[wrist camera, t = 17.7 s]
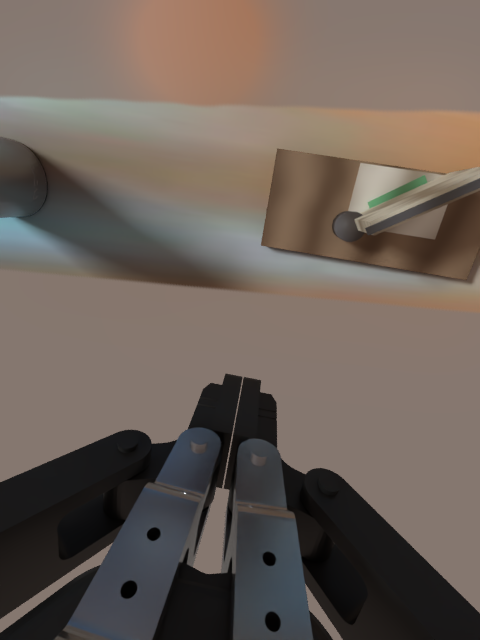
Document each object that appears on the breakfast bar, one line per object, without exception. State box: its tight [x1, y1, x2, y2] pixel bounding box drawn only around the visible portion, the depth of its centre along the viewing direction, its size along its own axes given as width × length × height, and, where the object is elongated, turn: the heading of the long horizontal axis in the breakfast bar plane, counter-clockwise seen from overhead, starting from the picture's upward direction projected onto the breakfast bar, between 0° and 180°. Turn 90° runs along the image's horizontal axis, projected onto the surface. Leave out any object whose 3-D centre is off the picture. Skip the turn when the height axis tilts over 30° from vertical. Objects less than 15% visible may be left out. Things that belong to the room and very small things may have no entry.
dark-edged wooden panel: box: [332, 167, 480, 242], centre depth 29 cm, size 12×3×10 cm, turn 115°
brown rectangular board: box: [261, 149, 480, 280], centre depth 36 cm, size 24×10×2 cm, turn 82°
